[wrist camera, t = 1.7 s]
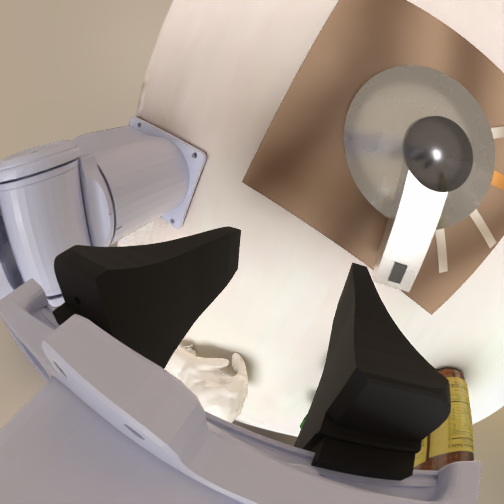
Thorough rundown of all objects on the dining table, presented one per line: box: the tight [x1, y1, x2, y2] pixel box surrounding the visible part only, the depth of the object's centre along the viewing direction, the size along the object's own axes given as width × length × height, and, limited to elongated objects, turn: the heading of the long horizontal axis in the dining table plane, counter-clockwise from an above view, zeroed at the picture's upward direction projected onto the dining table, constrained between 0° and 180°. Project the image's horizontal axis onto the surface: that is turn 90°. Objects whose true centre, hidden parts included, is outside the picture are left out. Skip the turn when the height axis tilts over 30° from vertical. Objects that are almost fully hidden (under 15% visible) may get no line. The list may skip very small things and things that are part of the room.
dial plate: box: [242, 0, 504, 315], centre depth 14 cm, size 18×18×2 cm
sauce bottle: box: [413, 368, 474, 471], centre depth 13 cm, size 7×6×20 cm
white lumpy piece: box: [168, 344, 248, 423], centre depth 30 cm, size 6×8×12 cm
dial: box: [344, 65, 495, 292], centre depth 12 cm, size 13×10×4 cm
